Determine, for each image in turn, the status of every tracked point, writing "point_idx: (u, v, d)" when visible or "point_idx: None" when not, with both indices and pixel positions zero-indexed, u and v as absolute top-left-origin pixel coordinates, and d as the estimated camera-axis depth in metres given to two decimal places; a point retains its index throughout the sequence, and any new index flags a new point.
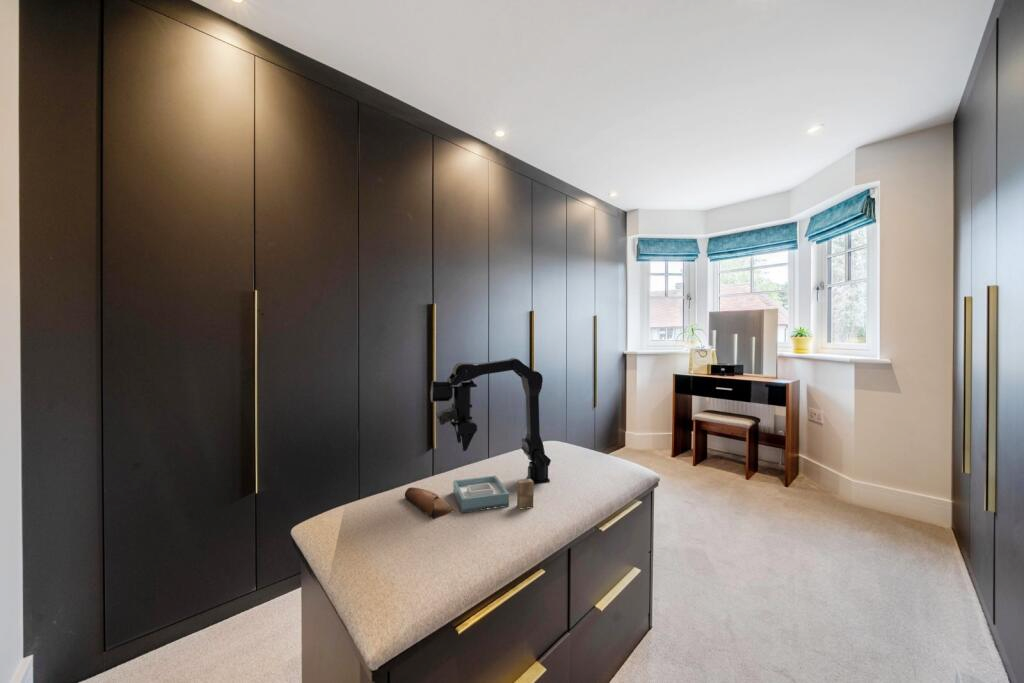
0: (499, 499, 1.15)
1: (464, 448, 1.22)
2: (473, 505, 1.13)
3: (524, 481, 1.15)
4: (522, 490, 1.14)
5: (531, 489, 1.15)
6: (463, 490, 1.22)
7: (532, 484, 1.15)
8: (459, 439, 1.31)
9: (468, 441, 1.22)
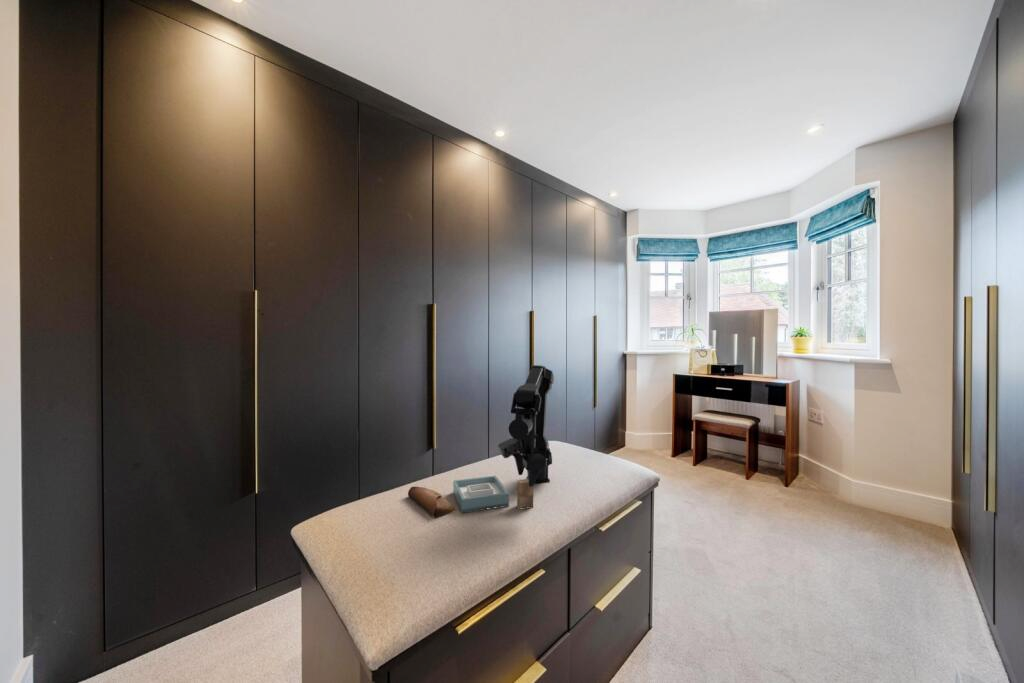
0: (499, 499, 1.15)
1: (531, 484, 1.11)
2: (473, 505, 1.13)
3: (524, 481, 1.15)
4: (522, 490, 1.14)
5: (531, 489, 1.15)
6: (463, 490, 1.22)
7: None
8: (520, 471, 1.20)
9: (535, 476, 1.11)
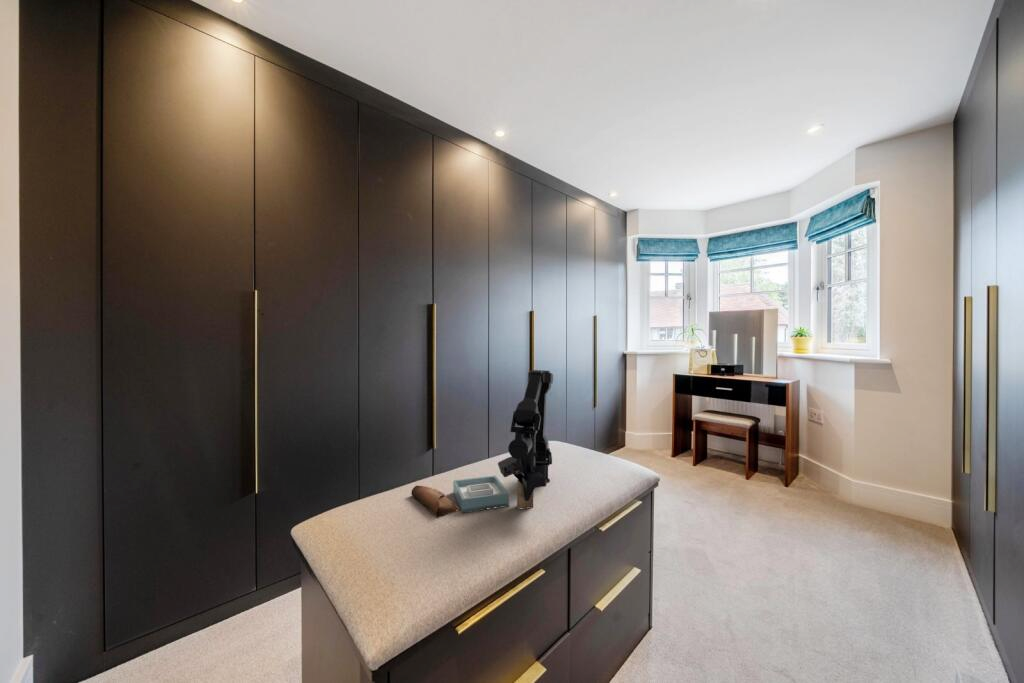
0: (499, 499, 1.15)
1: (526, 498, 1.14)
2: (473, 505, 1.13)
3: None
4: (522, 490, 1.14)
5: None
6: (463, 490, 1.22)
7: None
8: None
9: (531, 490, 1.14)
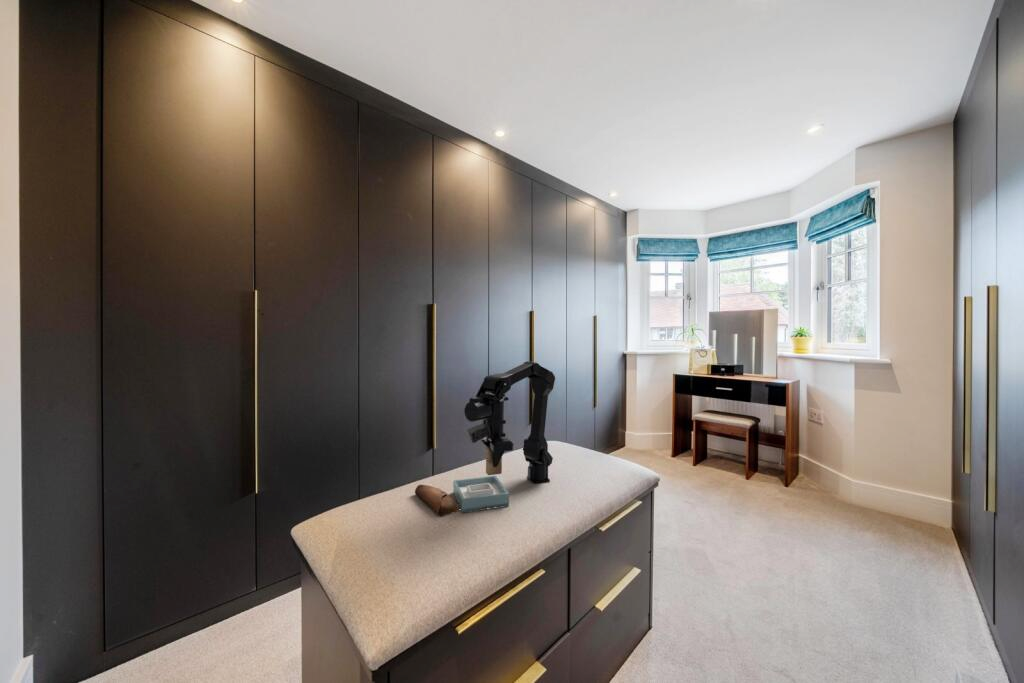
0: (499, 499, 1.15)
1: (495, 464, 1.17)
2: (473, 505, 1.13)
3: None
4: (490, 456, 1.17)
5: None
6: (463, 490, 1.22)
7: None
8: None
9: (499, 457, 1.17)
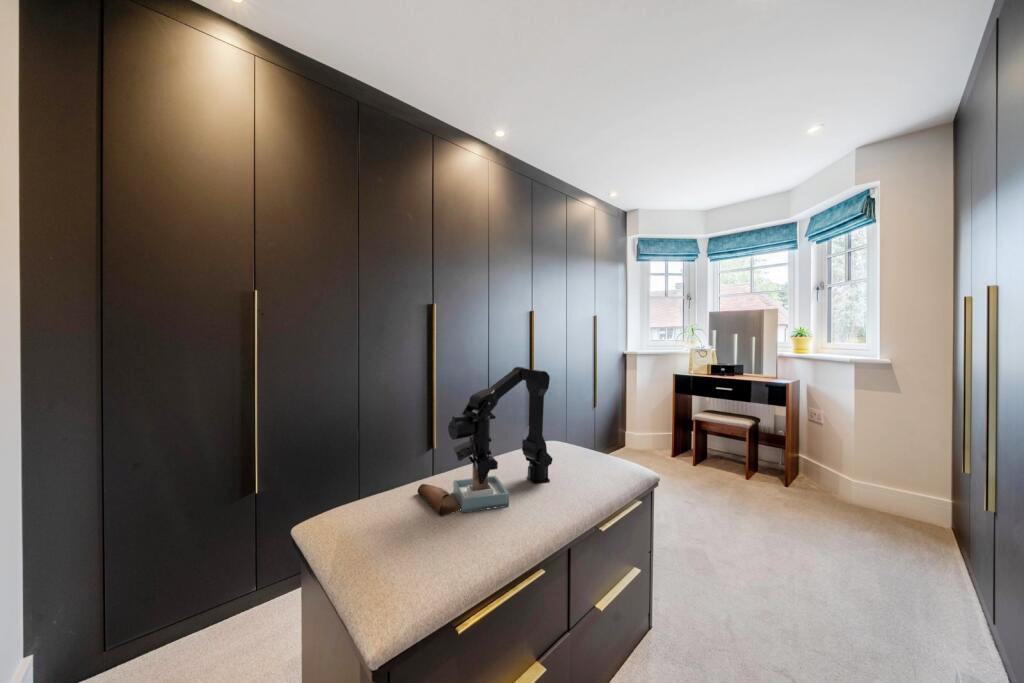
0: (499, 499, 1.15)
1: (481, 481, 1.19)
2: (473, 505, 1.13)
3: None
4: (476, 473, 1.19)
5: None
6: (463, 490, 1.22)
7: None
8: None
9: (485, 474, 1.18)
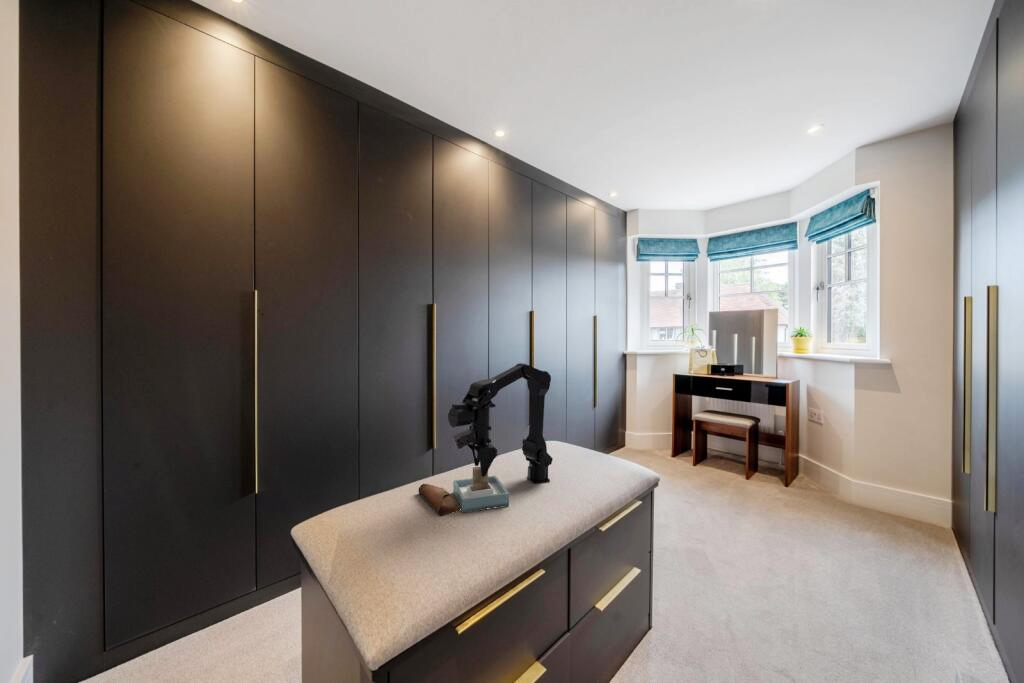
0: (499, 499, 1.15)
1: (483, 473, 1.16)
2: (473, 505, 1.13)
3: (479, 468, 1.20)
4: (476, 476, 1.19)
5: (485, 476, 1.20)
6: (463, 490, 1.22)
7: None
8: (476, 462, 1.25)
9: (487, 466, 1.15)
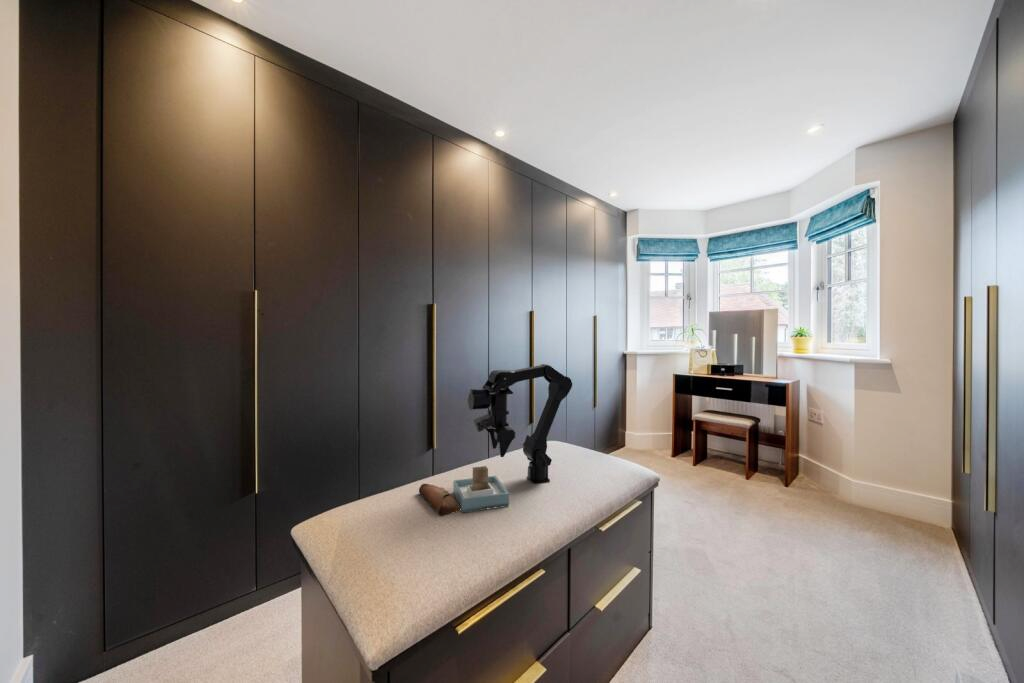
0: (499, 499, 1.15)
1: (502, 454, 1.25)
2: (473, 505, 1.13)
3: (479, 468, 1.20)
4: (476, 476, 1.19)
5: (485, 476, 1.20)
6: (463, 490, 1.22)
7: (486, 471, 1.20)
8: (494, 445, 1.34)
9: (506, 447, 1.24)
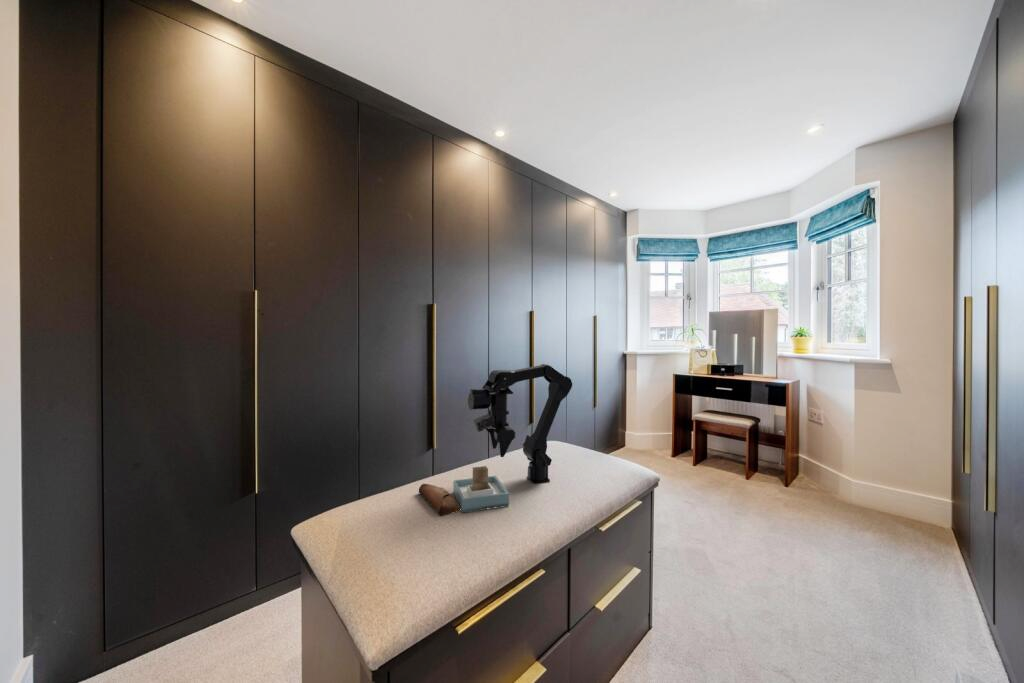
0: (499, 499, 1.15)
1: (502, 454, 1.25)
2: (473, 505, 1.13)
3: (479, 468, 1.20)
4: (476, 476, 1.19)
5: (485, 476, 1.20)
6: (463, 490, 1.22)
7: (486, 471, 1.20)
8: (494, 445, 1.34)
9: (506, 447, 1.24)
